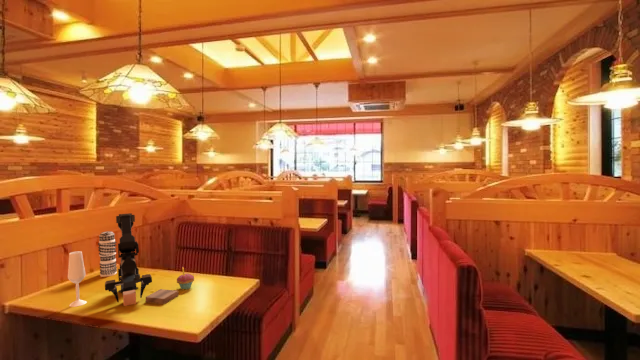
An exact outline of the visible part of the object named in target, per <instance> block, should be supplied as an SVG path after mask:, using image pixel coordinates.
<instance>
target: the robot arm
mask: <svg viewBox="0 0 640 360" xmlns="http://www.w3.org/2000/svg"><path fill="white" fill-rule="evenodd" d="M134 222H136V215H135V214H133V213H131V212H130V213H119V214H118V215H116V216H115V223H116V224H117V227H118V229H119V230H120V231H121V236H120V237H119V243H117V253H118V256H117V257H118V258H120V264H119V268H118V269H117V273H118V274H117V275H118V276H117V277H118V281H116V279H109V280H105V282H104V290H105V291H108V292H109V293H110V292H111V293H112V295H114V298H115V300H116V302H117V303H120V302H119V300H120V299H119V294H118V292H120V293H123V292H125V291H131V290H135V291H136V290H138V289H139V287H138V286H137V284H138V283H140V289H139V290H140V292H139V298H140V299H142V297H143V294H144V291H145V288H146V287H147V286H148V285H149V284H151V283H153V277H152V274H150V273H149V274H147V273H146V274H142V275H141V274H140V271H139V270H140V269H139V268H138V265H137V262H136V256H138V254H139V253H140V249H139V243H138V241H137V240H136V237H135V236H134V235H133V233H132V228H133V227H134ZM117 286H118V287H120V289H119V290H118V289H117Z"/></svg>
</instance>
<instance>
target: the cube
mask: <svg viewBox="0 0 640 360" xmlns="http://www.w3.org/2000/svg"><path fill="white" fill-rule="evenodd" d="M122 297H123V298H122V300H123V301H122V302H123V307H124V306H125V307H126V306H131V305H136V304H137V293H136V290H131V291H125V292H122Z"/></svg>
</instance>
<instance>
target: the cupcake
mask: <svg viewBox="0 0 640 360" xmlns="http://www.w3.org/2000/svg"><path fill="white" fill-rule="evenodd" d="M194 281H195V275H193V274H190V273H185V268H184V266H183V265H182V274H181V275H179V276H178V277H177V278H176V283H177V284H178V285H179V287H180V289H181V290H182V289H186V290H190V289H192V285H193V282H194Z"/></svg>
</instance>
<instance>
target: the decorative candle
mask: <svg viewBox="0 0 640 360" xmlns="http://www.w3.org/2000/svg"><path fill="white" fill-rule="evenodd" d="M98 237H99V241H98V243H97V245H98V252H99V253H98V256H99V258H100V260H99V275H100V276H99V277H101V278H102V277H106V278H107V277H111V276H115V275H116V274H117V273H118V269H117V258H116V254H117V247H116V246H117V242H116V239H115V237H116V236H115V233H114V232H113V231H112V230H111V231H103V232H101V233H100V234H99V235H98ZM117 275H118V274H117Z"/></svg>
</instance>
